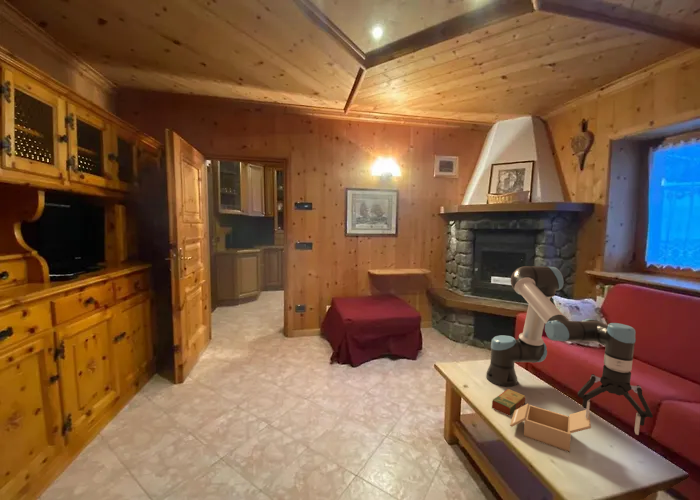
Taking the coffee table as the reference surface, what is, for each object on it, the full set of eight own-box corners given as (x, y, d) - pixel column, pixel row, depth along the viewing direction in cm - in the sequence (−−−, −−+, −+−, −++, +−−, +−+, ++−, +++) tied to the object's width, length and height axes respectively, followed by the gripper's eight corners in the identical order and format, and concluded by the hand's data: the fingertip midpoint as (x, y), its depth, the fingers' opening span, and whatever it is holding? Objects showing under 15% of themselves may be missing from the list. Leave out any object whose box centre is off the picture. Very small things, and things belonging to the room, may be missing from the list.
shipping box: (514, 415, 136) (515, 399, 135) (569, 433, 125) (570, 415, 124) (509, 431, 125) (510, 413, 125) (569, 452, 114) (570, 432, 113)
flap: (569, 414, 124) (587, 409, 120) (571, 416, 124) (589, 411, 120) (569, 431, 114) (589, 425, 110) (571, 433, 114) (591, 428, 110)
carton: (525, 404, 146) (525, 395, 146) (510, 417, 136) (510, 407, 135) (507, 396, 152) (507, 388, 152) (491, 408, 142) (491, 399, 142)
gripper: (573, 361, 114) (568, 415, 116) (669, 384, 99) (661, 445, 101) (573, 354, 120) (568, 406, 122) (664, 375, 105) (656, 433, 107)
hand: (610, 424), depth 112 cm, fingers open, 13 cm apart
